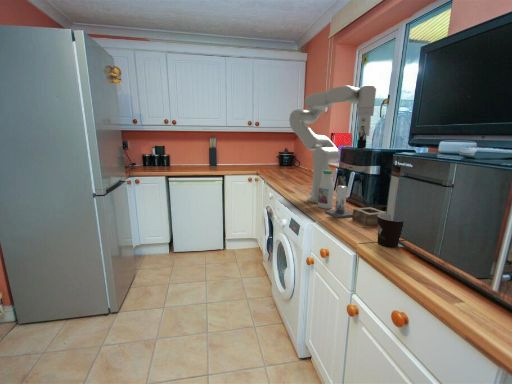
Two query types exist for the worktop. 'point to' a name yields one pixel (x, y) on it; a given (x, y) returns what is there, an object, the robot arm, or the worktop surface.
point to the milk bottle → (326, 191)
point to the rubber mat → (337, 215)
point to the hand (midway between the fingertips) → (361, 148)
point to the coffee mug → (388, 231)
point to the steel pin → (341, 199)
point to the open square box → (367, 215)
